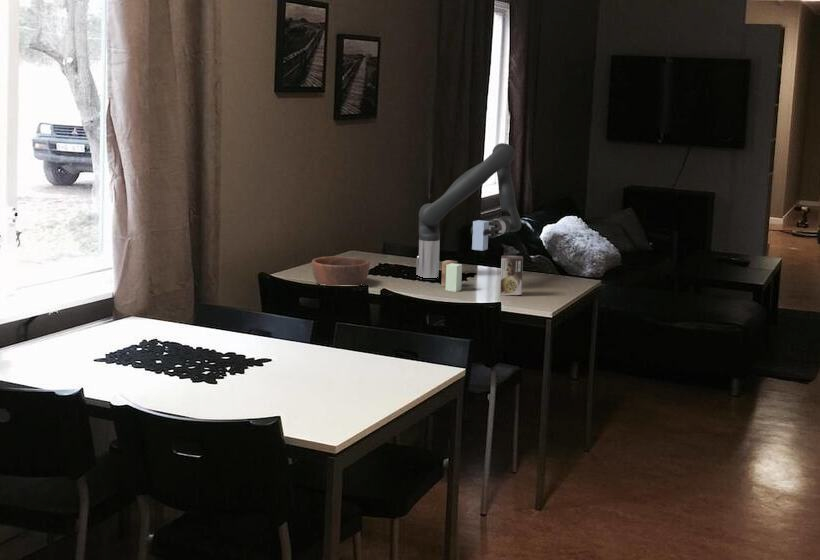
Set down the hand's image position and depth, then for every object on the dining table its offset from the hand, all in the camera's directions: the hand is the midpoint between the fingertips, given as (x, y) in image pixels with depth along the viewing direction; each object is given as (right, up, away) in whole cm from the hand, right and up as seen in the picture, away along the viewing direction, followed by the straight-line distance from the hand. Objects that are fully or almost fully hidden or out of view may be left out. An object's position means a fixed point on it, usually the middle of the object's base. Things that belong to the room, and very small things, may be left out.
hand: (477, 232), depth 463 cm
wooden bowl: (-59, -22, +10) cm, 64 cm away
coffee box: (+14, -26, -2) cm, 30 cm away
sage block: (-10, -24, +4) cm, 27 cm away
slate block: (+1, -7, +4) cm, 8 cm away
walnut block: (-12, -23, +11) cm, 28 cm away
